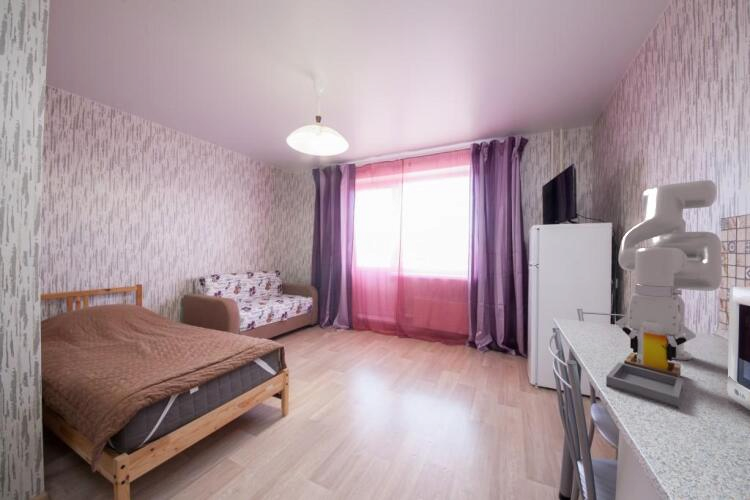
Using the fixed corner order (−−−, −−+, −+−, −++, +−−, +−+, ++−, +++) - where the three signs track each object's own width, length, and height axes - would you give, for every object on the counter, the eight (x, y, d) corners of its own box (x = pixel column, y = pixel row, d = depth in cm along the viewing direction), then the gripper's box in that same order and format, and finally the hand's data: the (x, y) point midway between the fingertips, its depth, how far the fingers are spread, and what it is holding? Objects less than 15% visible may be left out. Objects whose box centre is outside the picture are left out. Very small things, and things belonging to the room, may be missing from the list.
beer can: (674, 379, 71) (675, 323, 71) (647, 377, 72) (648, 321, 72) (655, 369, 77) (656, 317, 77) (631, 367, 78) (632, 316, 78)
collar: (630, 362, 81) (631, 352, 81) (680, 375, 74) (680, 364, 74) (624, 371, 75) (624, 360, 75) (677, 385, 67) (677, 374, 67)
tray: (618, 371, 76) (618, 362, 75) (683, 388, 66) (683, 378, 66) (606, 386, 67) (606, 376, 67) (678, 409, 57) (678, 397, 57)
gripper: (702, 294, 70) (701, 362, 70) (615, 286, 84) (614, 343, 84) (701, 297, 65) (700, 370, 65) (609, 288, 79) (608, 349, 79)
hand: (652, 355), depth 74 cm, fingers closed on beer can, 6 cm apart
